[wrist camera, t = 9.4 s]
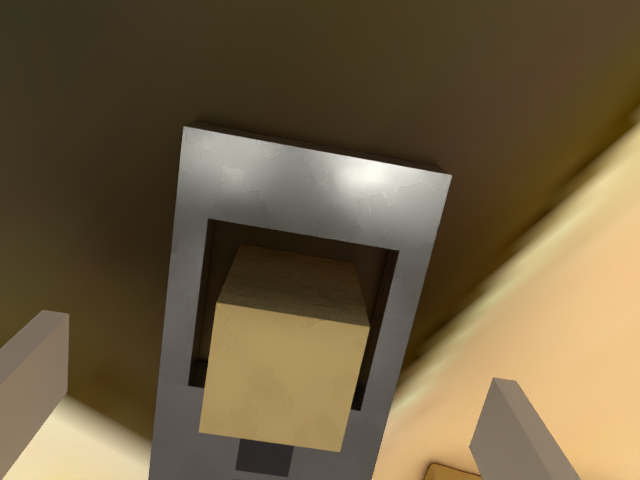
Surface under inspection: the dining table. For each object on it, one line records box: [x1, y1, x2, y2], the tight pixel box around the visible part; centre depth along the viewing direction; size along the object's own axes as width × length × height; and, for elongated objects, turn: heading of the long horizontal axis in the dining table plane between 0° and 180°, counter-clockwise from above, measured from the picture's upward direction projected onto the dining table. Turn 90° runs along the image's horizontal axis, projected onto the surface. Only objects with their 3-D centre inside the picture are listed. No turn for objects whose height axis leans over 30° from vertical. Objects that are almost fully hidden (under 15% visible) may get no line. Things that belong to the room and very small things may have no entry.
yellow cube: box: [199, 244, 370, 452], centre depth 20 cm, size 5×5×6 cm
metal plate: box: [148, 122, 452, 480], centre depth 22 cm, size 18×10×2 cm, turn 170°
